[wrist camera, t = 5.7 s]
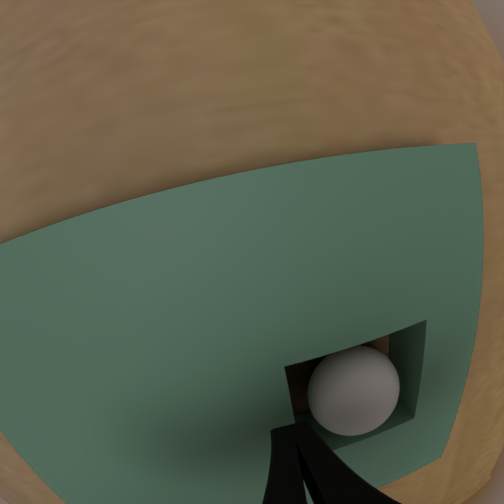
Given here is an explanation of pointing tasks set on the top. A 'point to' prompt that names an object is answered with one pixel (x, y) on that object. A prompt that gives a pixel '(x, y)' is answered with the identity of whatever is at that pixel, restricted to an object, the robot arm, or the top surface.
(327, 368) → the ball
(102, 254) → the putting board
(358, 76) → the top surface
